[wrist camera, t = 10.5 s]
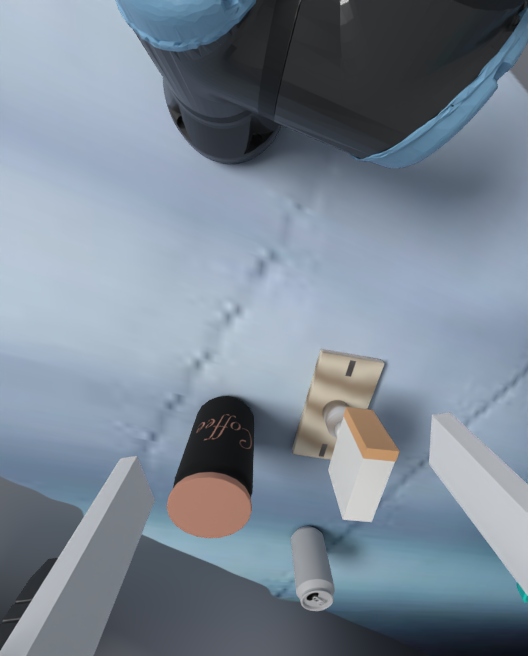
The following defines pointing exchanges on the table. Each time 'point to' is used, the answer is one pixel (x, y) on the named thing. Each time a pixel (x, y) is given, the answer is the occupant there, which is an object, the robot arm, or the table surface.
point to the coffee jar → (215, 471)
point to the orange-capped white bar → (361, 463)
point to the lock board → (334, 399)
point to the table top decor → (522, 593)
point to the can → (312, 569)
